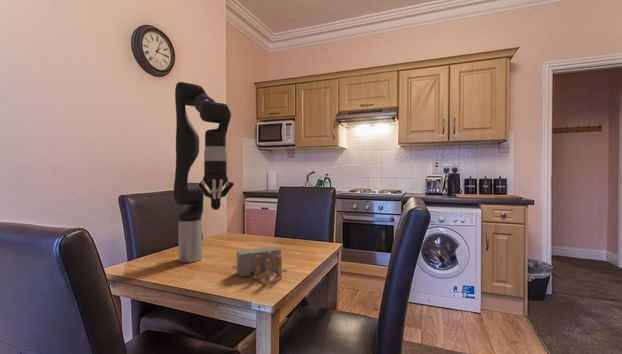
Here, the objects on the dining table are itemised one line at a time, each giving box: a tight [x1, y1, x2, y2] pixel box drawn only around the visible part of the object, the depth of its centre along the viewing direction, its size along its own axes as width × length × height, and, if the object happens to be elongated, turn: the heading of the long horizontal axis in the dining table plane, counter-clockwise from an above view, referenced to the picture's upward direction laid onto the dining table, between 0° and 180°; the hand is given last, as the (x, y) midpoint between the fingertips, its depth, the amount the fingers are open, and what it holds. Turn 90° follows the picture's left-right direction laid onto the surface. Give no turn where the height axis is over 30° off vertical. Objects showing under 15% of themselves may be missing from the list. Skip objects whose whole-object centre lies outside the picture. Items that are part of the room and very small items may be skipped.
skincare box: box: [236, 246, 282, 278], centre depth 110 cm, size 8×7×16 cm
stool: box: [253, 252, 283, 285], centre depth 103 cm, size 7×7×8 cm
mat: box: [232, 264, 288, 280], centre depth 115 cm, size 18×14×1 cm
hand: (215, 209), depth 103 cm, fingers closed
